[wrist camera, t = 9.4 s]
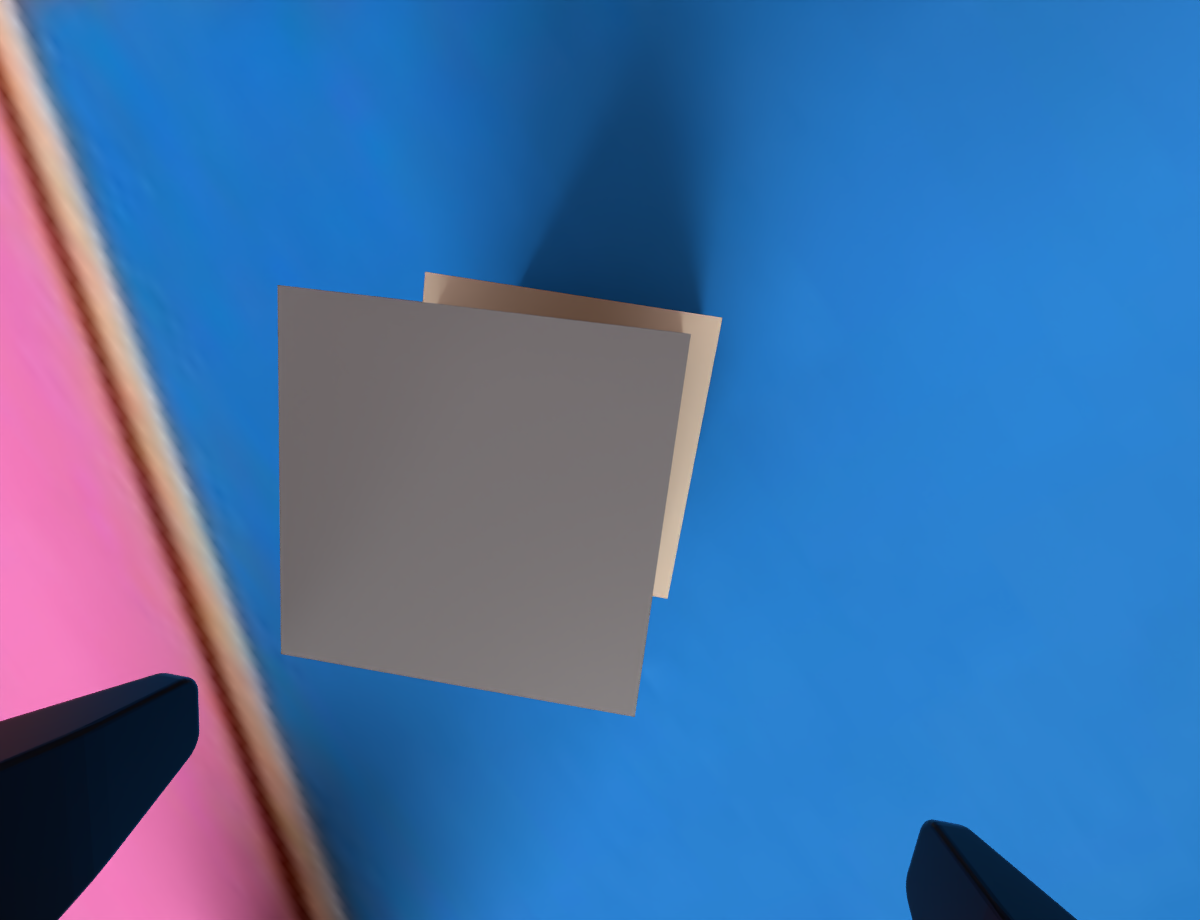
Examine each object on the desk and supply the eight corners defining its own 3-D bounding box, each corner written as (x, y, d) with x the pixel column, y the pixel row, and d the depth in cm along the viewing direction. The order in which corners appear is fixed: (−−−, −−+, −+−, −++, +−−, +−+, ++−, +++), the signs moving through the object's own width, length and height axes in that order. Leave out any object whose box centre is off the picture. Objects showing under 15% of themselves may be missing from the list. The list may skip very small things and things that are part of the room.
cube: (425, 534, 13) (281, 653, 8) (436, 303, 12) (278, 285, 7) (648, 568, 13) (634, 716, 8) (682, 332, 12) (690, 333, 7)
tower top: (457, 503, 17) (403, 547, 13) (480, 284, 15) (424, 271, 12) (668, 542, 16) (667, 599, 13) (710, 320, 15) (722, 317, 11)
